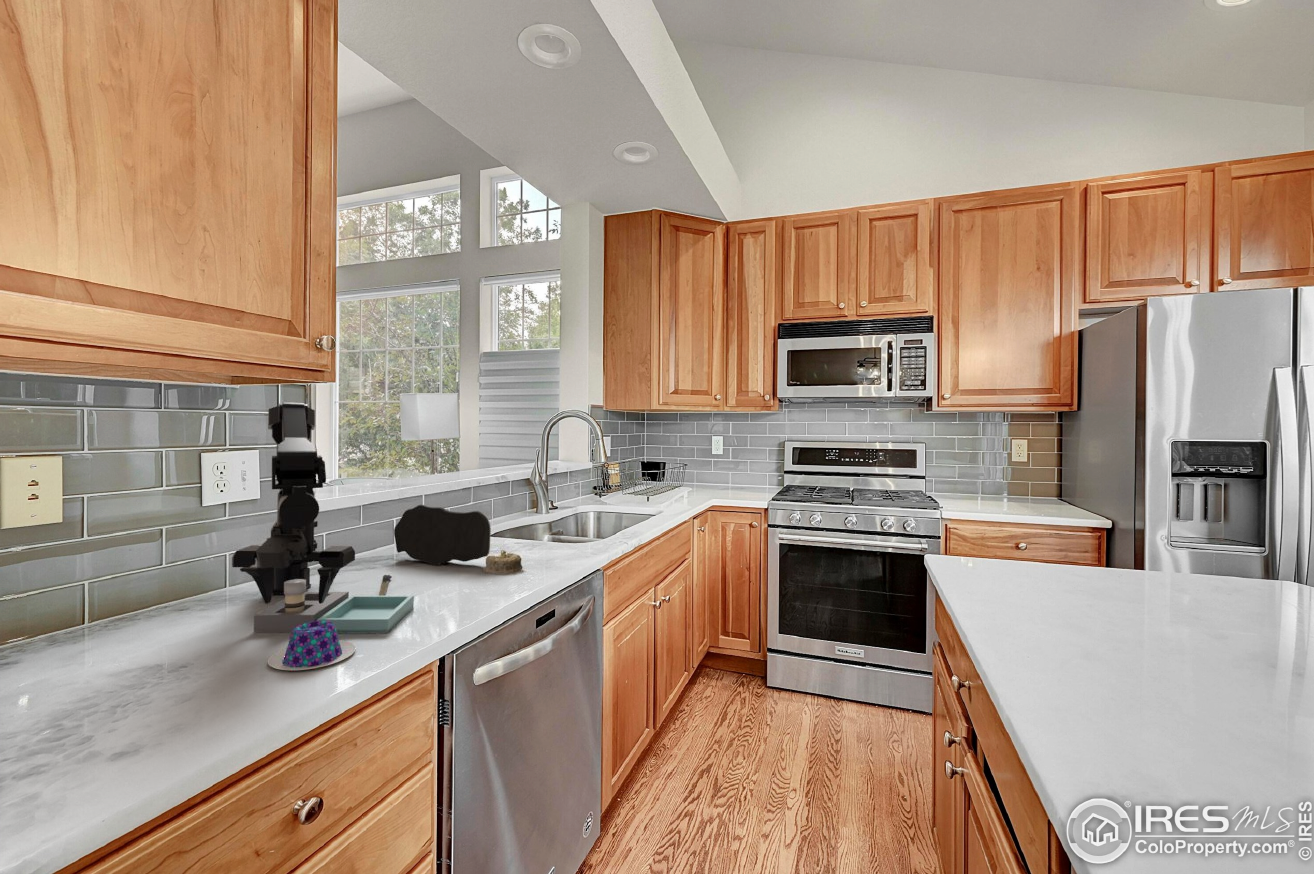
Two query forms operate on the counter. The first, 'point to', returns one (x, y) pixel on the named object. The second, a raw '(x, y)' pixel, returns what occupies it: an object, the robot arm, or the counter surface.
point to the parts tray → (369, 613)
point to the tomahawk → (384, 585)
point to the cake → (503, 563)
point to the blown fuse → (294, 595)
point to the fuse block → (286, 622)
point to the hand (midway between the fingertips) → (294, 603)
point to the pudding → (312, 647)
